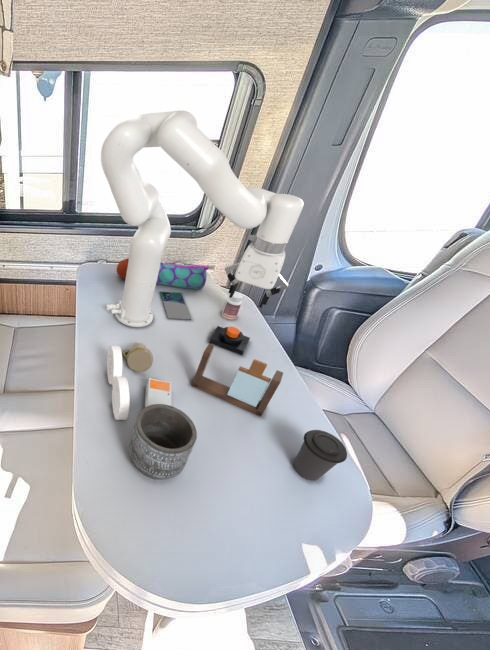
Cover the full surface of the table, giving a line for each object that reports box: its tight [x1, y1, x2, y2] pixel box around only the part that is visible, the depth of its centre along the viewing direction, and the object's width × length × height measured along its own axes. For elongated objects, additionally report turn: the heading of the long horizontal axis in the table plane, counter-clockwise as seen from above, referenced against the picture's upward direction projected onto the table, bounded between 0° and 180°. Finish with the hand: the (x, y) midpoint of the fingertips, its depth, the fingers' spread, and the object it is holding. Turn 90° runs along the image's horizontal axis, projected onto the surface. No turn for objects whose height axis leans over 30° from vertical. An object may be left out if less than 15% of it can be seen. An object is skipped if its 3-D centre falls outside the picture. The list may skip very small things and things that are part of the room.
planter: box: [128, 404, 198, 481], centre depth 83 cm, size 12×12×13 cm
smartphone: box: [160, 291, 192, 321], centre depth 137 cm, size 8×1×16 cm
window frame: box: [191, 343, 284, 417], centre depth 100 cm, size 18×4×12 cm, turn 55°
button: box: [226, 326, 241, 338], centre depth 119 cm, size 4×4×2 cm
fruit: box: [116, 257, 129, 280], centre depth 148 cm, size 9×9×8 cm
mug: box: [122, 342, 154, 373], centre depth 111 cm, size 8×10×10 cm
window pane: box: [227, 358, 272, 407], centre depth 97 cm, size 7×1×13 cm, turn 55°
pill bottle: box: [221, 291, 244, 320], centre depth 131 cm, size 5×5×8 cm
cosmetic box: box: [144, 377, 173, 408], centre depth 99 cm, size 6×4×12 cm
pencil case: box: [156, 260, 210, 290], centre depth 145 cm, size 21×9×10 cm, turn 76°
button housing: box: [208, 325, 251, 356], centre depth 121 cm, size 10×8×4 cm
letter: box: [106, 345, 131, 421], centre depth 100 cm, size 22×2×10 cm, turn 0°
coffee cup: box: [292, 429, 348, 482], centre depth 84 cm, size 8×8×10 cm
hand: (246, 300), depth 112 cm, fingers open, 7 cm apart
